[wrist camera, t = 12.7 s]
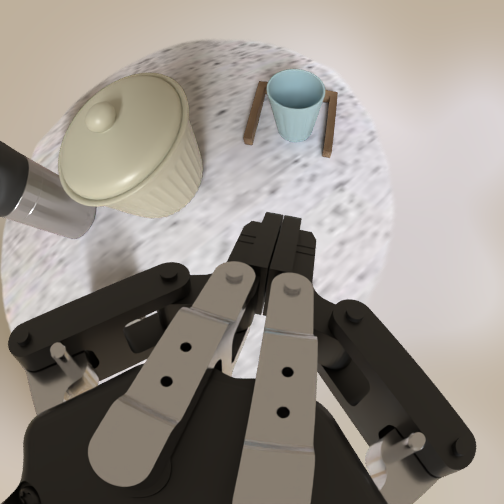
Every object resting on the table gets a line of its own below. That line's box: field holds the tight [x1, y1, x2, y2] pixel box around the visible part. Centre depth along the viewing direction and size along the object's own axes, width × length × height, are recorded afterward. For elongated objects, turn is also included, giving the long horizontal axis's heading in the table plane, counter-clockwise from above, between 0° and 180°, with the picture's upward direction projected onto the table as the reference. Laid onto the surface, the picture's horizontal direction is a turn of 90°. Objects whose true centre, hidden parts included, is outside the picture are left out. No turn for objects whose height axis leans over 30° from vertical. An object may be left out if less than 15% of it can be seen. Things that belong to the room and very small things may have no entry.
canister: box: [58, 73, 203, 218], centre depth 34 cm, size 18×18×21 cm
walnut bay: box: [243, 81, 338, 158], centre depth 42 cm, size 13×12×2 cm
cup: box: [267, 69, 325, 142], centre depth 38 cm, size 8×8×10 cm
